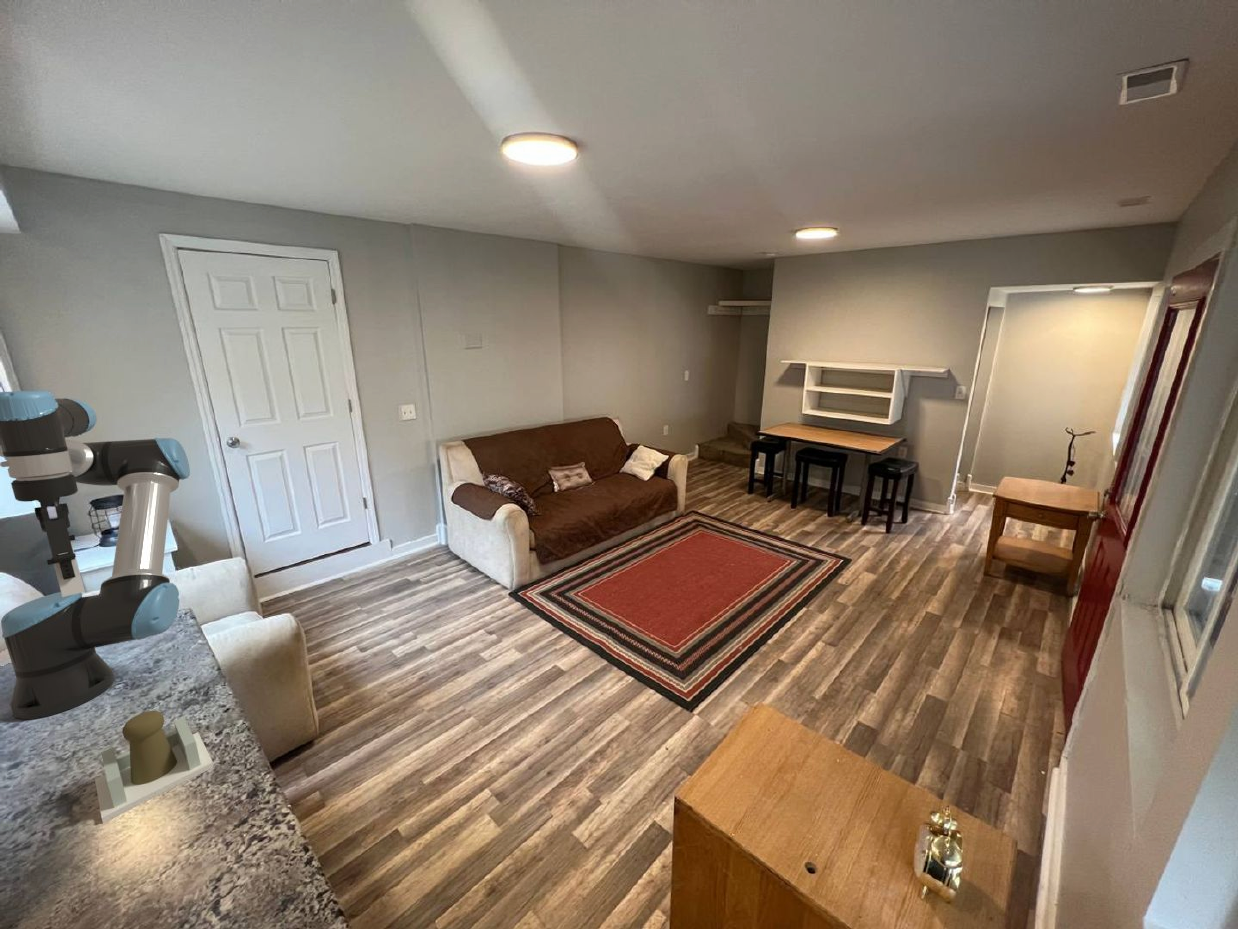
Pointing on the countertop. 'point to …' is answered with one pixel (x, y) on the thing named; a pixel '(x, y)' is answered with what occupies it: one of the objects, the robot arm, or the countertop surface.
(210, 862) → the countertop surface
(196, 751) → the holder
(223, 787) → the countertop surface
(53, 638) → the robot arm
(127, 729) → the brown rounded knob
